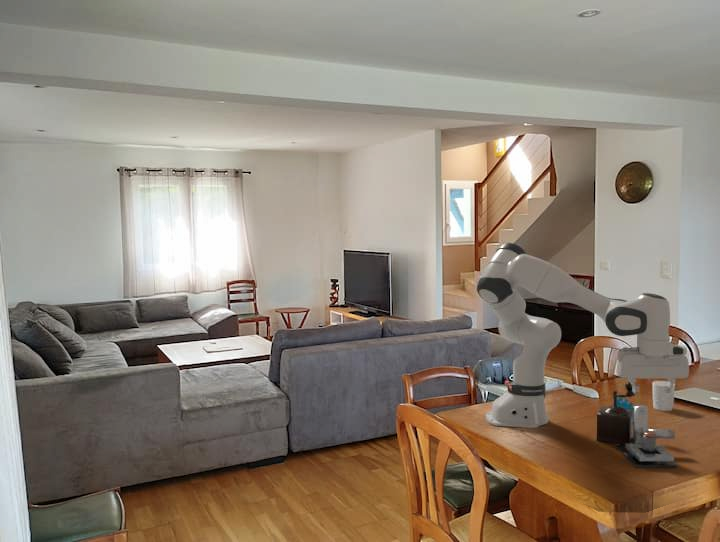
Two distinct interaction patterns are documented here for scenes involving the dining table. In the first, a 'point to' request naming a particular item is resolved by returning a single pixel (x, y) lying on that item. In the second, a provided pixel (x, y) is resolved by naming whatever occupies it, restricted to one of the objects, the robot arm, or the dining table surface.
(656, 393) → the white cup
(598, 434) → the dark brown coffee grinder
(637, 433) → the pipe elbow on plate
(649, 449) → the pin
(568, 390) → the dining table surface
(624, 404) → the gear
